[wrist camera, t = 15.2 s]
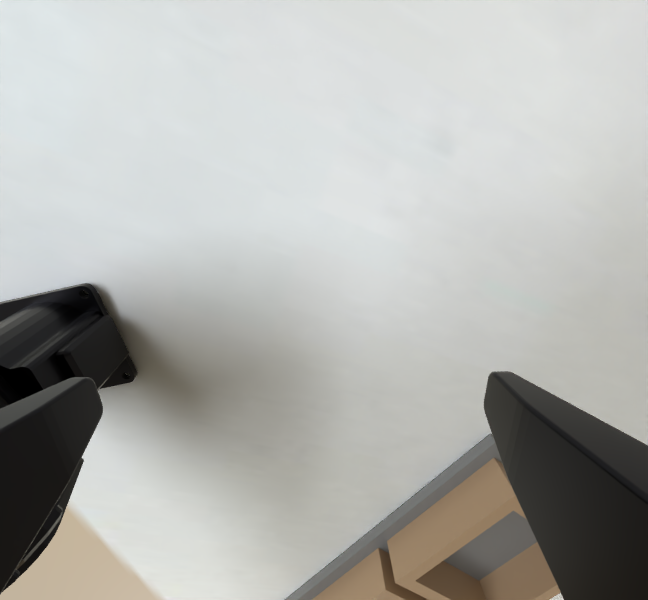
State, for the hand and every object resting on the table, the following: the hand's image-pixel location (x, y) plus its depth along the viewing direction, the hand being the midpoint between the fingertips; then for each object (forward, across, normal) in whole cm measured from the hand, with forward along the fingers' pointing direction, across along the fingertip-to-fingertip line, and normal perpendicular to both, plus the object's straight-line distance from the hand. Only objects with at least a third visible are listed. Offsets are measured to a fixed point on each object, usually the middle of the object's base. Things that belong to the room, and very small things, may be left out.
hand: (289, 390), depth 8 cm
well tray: (+13, -8, +28) cm, 32 cm away
